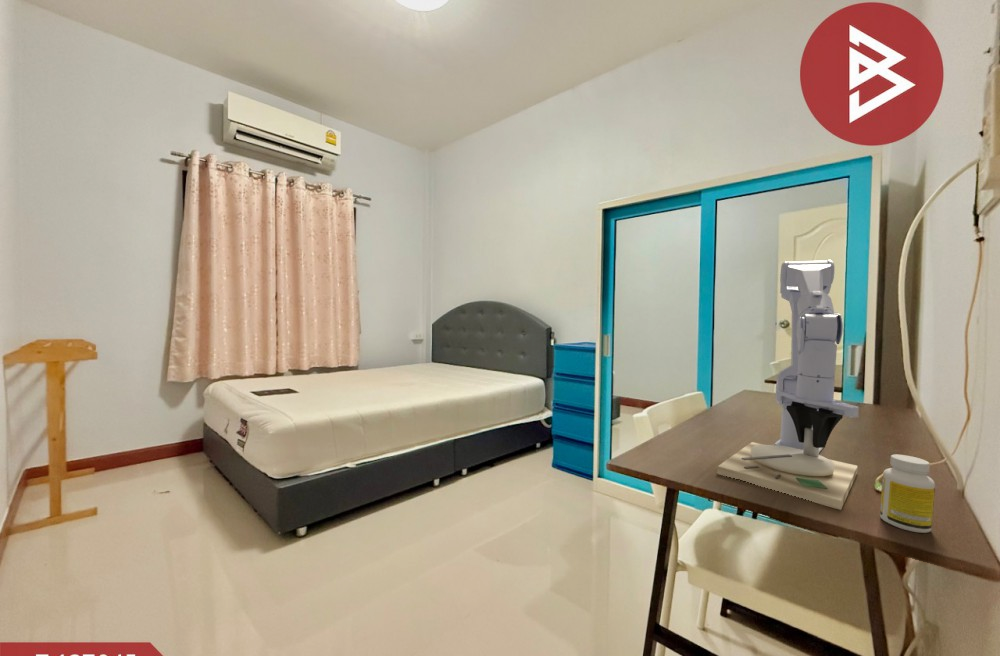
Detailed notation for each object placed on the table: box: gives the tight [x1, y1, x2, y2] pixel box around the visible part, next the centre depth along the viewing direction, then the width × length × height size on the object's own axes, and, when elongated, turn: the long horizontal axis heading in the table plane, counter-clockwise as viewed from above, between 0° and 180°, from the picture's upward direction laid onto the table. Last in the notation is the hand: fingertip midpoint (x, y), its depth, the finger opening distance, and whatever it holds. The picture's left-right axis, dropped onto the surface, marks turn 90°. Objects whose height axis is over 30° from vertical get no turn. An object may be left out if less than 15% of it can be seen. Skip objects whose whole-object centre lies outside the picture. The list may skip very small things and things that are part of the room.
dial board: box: [716, 441, 858, 511], centre depth 77 cm, size 22×18×2 cm
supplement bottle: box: [879, 453, 936, 534], centre depth 59 cm, size 5×5×10 cm
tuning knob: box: [742, 428, 834, 476], centre depth 77 cm, size 18×13×6 cm
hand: (811, 444), depth 79 cm, fingers closed on tuning knob, 2 cm apart
